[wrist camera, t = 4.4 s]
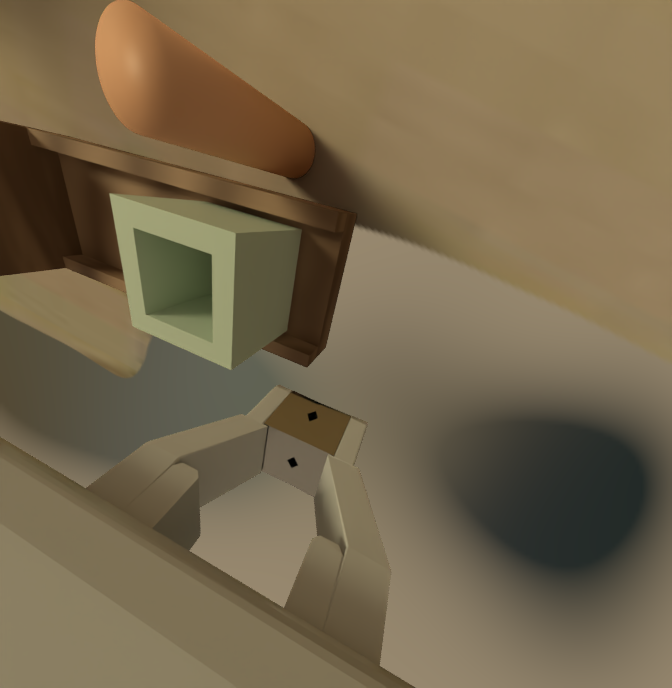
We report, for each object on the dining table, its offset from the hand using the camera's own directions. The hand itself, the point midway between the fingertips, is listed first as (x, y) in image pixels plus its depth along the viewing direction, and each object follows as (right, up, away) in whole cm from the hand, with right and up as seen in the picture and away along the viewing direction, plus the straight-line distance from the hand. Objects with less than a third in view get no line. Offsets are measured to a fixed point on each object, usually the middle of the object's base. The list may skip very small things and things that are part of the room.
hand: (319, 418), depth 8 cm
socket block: (-5, +8, +10) cm, 14 cm away
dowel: (-2, +14, +8) cm, 17 cm away
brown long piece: (-11, +11, +13) cm, 21 cm away
